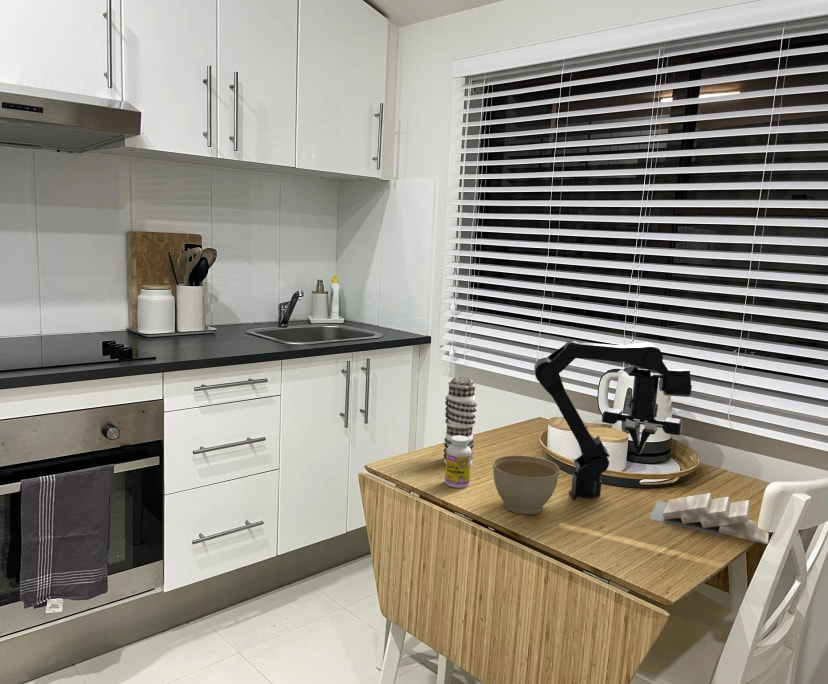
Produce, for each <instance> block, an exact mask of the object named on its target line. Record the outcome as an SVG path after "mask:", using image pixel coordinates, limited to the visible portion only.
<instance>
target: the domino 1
mask: <svg viewBox="0 0 828 684" xmlns="http://www.w3.org/2000/svg"><path fill="white" fill-rule="evenodd" d="M713 499H714V498H713V497H712V494H711V492H708V493H703V494H702V493H701V494H696V495H689V496H683V497H678V498H671V499H668V500H667V502H666V503H667V505H666V507H665V509H664V511H663V513H662V514H663V517H664V520H668V519H674V518H681V517H688V516H695V515H701V514H708V513H709V509H710V506H711V503H712V500H713Z"/></svg>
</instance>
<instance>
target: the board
mask: <svg viewBox="0 0 828 684" xmlns="http://www.w3.org/2000/svg"><path fill="white" fill-rule="evenodd" d="M667 503H668V502H665V501H662V500H657V501H656V503H655V505H654V508H653V509H652V511H651V513H650V515H649V517H648V520H652V521H657V522H660V523H664V524H668V525H673V526H678V527H682V528H685V529H690V530H695V531H698V532H704V533H707V534H711V535H715V536H719V537H723V534H722V533H720V532H718V531H719V527H720V526H715V527H707V528H702V525H701V522H694V523H687V524H682V521H681V518H674V519H668V520H664V517H663V514H662V513H663V511H664V509H665V507H666V505H667Z"/></svg>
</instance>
